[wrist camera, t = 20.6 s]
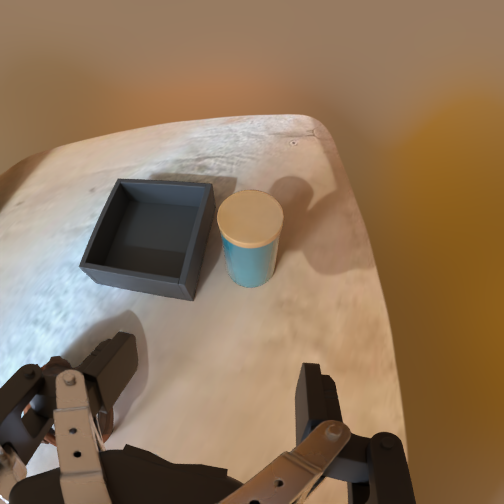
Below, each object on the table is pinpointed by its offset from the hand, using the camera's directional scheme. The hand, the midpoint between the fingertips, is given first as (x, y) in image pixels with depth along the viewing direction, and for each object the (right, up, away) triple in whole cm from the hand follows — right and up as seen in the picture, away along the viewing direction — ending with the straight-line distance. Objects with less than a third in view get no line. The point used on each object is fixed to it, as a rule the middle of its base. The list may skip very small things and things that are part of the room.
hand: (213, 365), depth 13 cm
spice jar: (+2, +4, +17) cm, 17 cm away
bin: (-9, +6, +18) cm, 21 cm away
